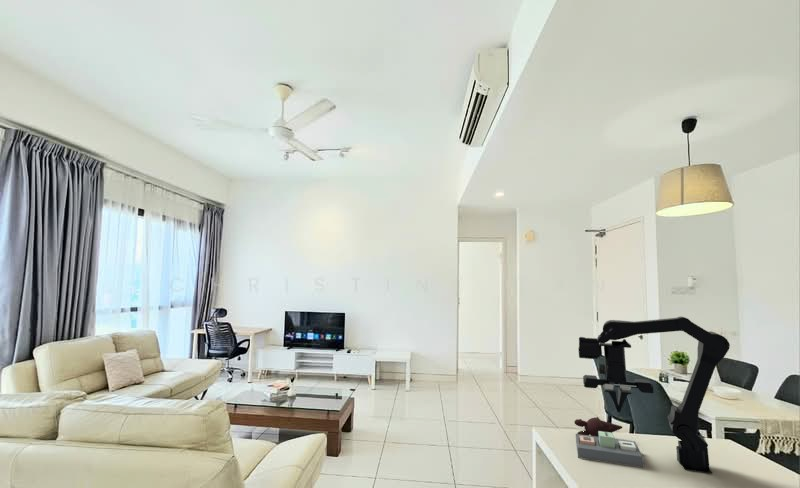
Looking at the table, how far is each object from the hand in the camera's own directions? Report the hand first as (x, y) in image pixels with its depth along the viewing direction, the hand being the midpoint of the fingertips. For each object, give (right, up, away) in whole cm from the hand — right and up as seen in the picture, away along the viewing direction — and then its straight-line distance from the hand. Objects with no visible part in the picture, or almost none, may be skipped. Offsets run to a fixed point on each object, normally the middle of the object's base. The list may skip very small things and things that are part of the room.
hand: (618, 411), depth 117 cm
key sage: (-4, -10, -1) cm, 11 cm away
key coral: (-9, -13, 0) cm, 16 cm away
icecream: (0, -14, +11) cm, 18 cm away
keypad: (-4, -12, -2) cm, 13 cm away
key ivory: (+1, -12, -4) cm, 13 cm away
